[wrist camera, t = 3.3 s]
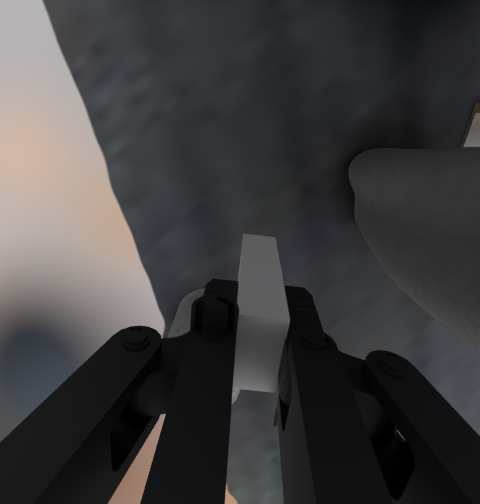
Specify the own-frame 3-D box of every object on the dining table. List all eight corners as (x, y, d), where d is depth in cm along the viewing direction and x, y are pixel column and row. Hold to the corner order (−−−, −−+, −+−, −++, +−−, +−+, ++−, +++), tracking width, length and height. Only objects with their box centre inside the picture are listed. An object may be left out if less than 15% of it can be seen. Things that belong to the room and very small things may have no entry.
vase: (314, 161, 37) (485, 303, 10) (422, 107, 35) (1074, 91, 7) (352, 250, 41) (547, 526, 14) (451, 207, 39) (935, 443, 11)
